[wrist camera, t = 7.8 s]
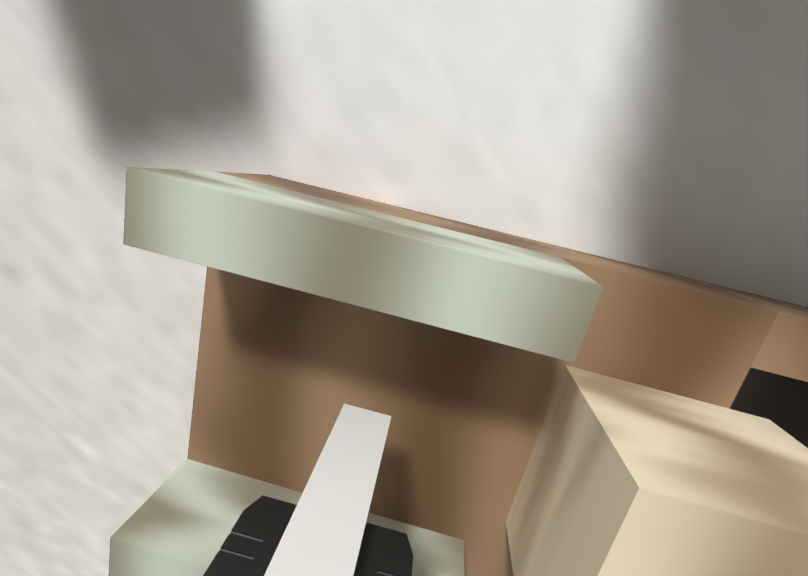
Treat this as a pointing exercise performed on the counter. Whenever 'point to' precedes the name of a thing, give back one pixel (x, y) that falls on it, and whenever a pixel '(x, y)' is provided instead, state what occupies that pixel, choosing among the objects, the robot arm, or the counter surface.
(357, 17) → the counter surface
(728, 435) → the birch block
